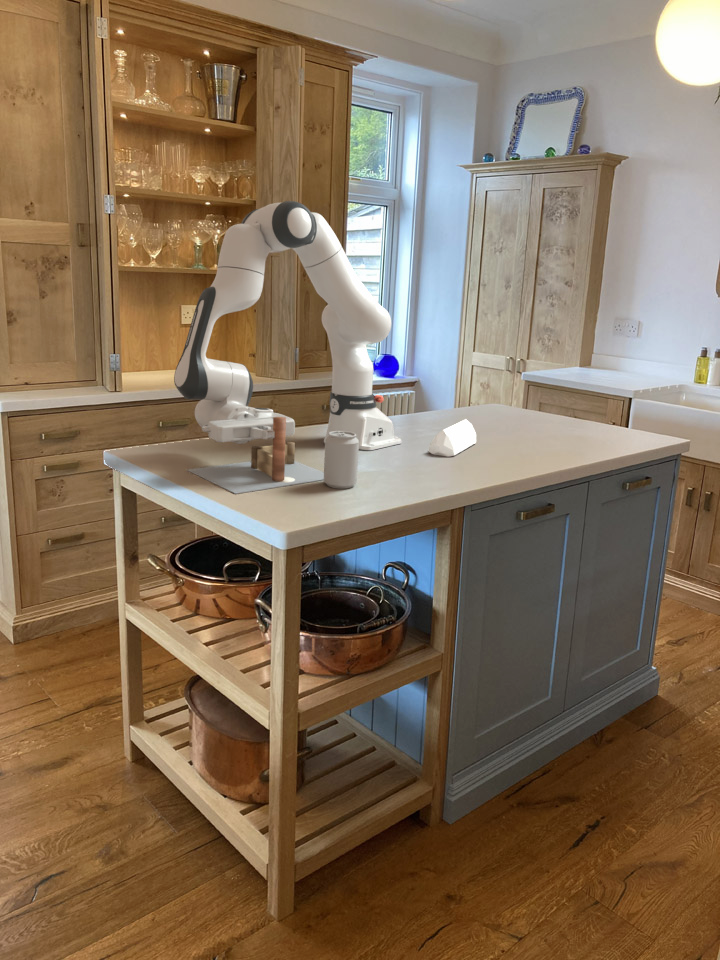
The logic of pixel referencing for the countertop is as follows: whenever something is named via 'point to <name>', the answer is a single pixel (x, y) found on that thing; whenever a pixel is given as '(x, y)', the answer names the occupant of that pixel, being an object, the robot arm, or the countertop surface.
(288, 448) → the fixed rail
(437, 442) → the white chamfered prism
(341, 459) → the can
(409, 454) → the countertop surface
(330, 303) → the robot arm
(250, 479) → the card
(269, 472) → the rail
